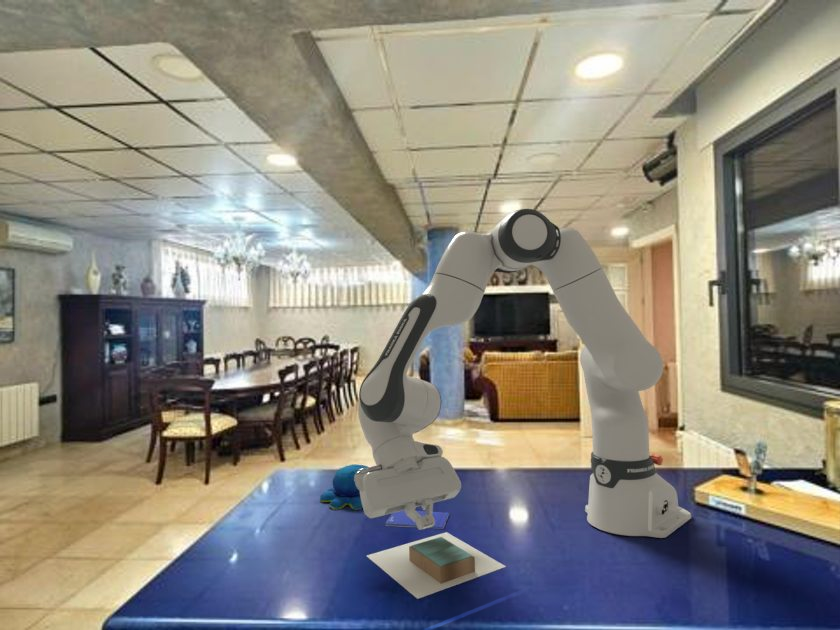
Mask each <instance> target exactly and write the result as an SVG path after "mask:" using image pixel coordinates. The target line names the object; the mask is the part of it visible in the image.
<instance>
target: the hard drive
mask: <svg viewBox="0 0 840 630" xmlns="http://www.w3.org/2000/svg"><path fill="white" fill-rule="evenodd" d="M416 511H417V512H418V513H419V514H420V515H421V516H425V515H426V510H416ZM432 515H433V517H434V520H435V524H434V526H432V527H429V528H428V529H436V530H437V529H439V530H444V528H445V526H446V524H447V521H448V518H449V516H450V512H440V511H439V512H438V511H433V512H432ZM385 526H386V527H401V528H417V529H418V527H417V525H416V523H415V522H414V521H413V520H412V519H410V518H409V517H408V516H407V515H406V513H405V511H404V510H403V511H399V512H395V513H391V515H390V516H389V518H388V519H387V520H386V522H385Z"/></svg>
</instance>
